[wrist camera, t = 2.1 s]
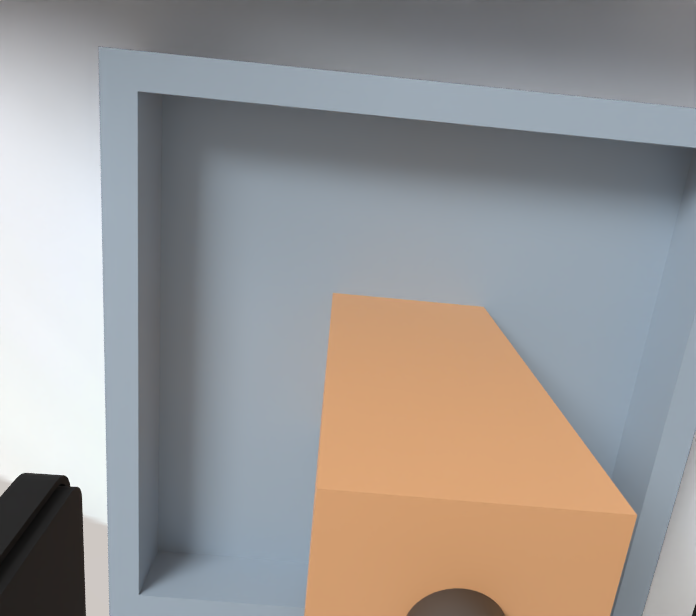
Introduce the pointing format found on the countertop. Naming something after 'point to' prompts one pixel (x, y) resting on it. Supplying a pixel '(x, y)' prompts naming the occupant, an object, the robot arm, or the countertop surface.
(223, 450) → the tray
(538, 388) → the plug
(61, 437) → the countertop surface
